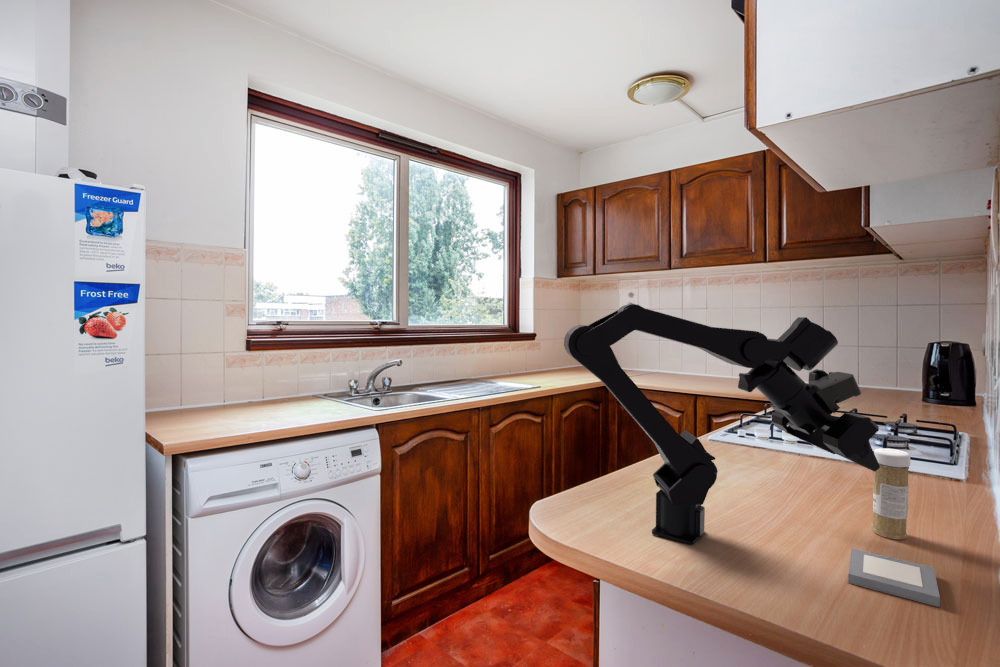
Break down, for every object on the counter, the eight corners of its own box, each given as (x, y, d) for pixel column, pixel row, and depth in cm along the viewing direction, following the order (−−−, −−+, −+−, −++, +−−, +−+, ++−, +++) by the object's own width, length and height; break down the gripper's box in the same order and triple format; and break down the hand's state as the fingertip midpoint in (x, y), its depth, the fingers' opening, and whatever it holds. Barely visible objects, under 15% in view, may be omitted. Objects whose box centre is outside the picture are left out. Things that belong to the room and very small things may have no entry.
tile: (848, 582, 65) (848, 573, 65) (851, 556, 72) (851, 547, 72) (939, 607, 60) (939, 596, 60) (933, 575, 67) (933, 566, 67)
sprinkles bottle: (873, 525, 83) (875, 445, 82) (908, 534, 80) (911, 450, 79) (869, 534, 79) (872, 451, 79) (906, 543, 76) (909, 456, 76)
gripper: (866, 360, 69) (944, 439, 70) (790, 350, 88) (851, 412, 88) (808, 417, 70) (886, 495, 70) (744, 395, 88) (806, 457, 89)
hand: (855, 460), depth 79 cm, fingers open, 9 cm apart
